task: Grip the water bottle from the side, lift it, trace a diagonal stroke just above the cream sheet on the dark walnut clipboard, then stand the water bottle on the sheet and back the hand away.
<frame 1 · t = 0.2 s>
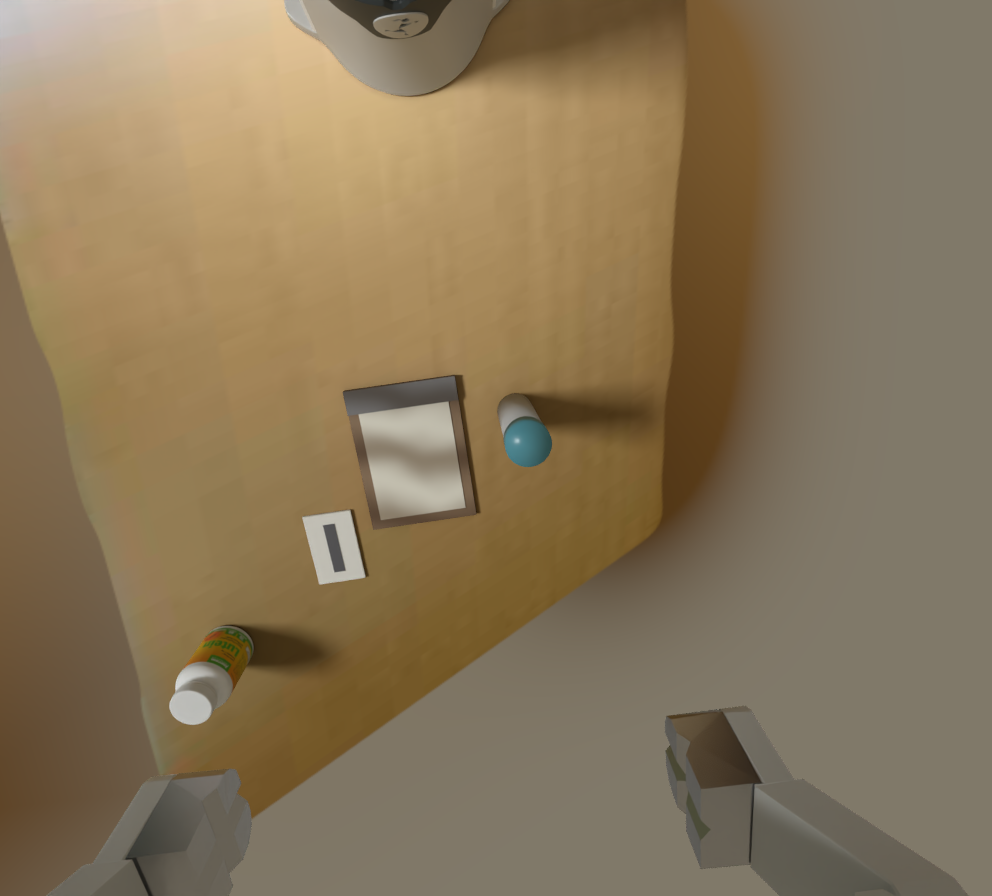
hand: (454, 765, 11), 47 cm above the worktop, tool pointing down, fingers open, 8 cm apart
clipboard: (412, 454, 58), on the worktop
word card: (335, 546, 61), on the worktop
water bottle: (515, 410, 58), on the worktop
supplement bottle: (230, 643, 64), on the worktop
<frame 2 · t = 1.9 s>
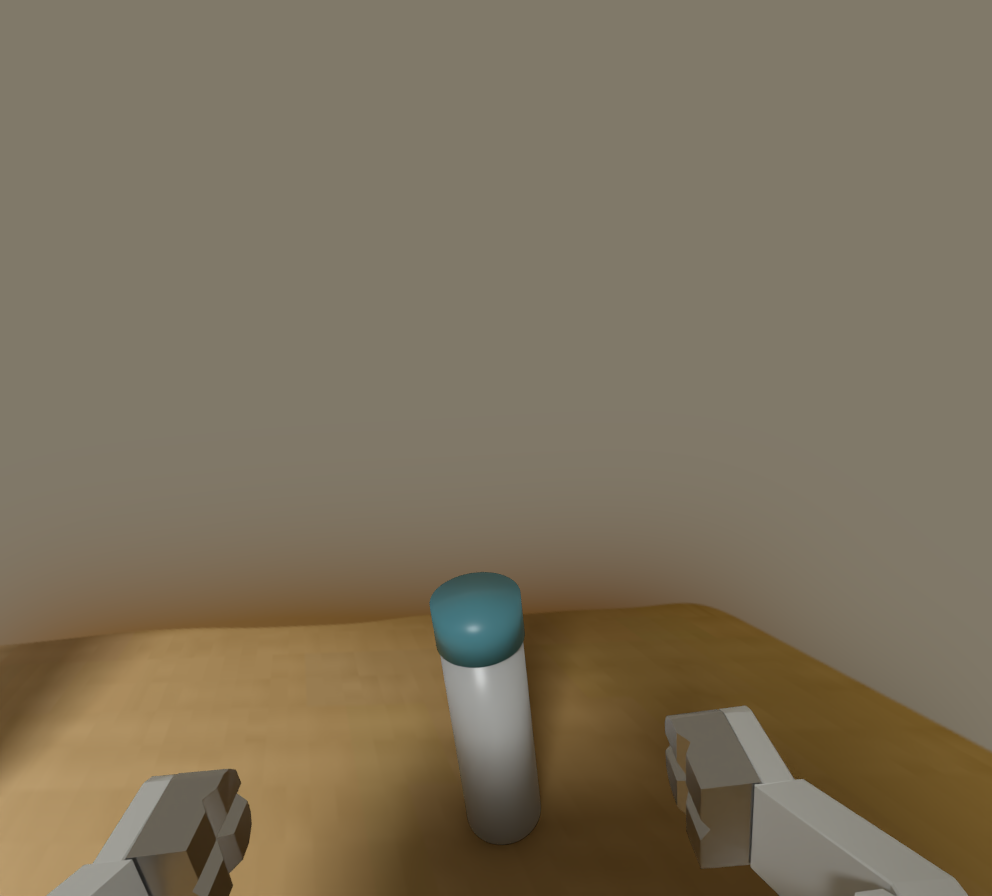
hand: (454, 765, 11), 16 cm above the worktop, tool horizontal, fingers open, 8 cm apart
water bottle: (503, 808, 28), on the worktop
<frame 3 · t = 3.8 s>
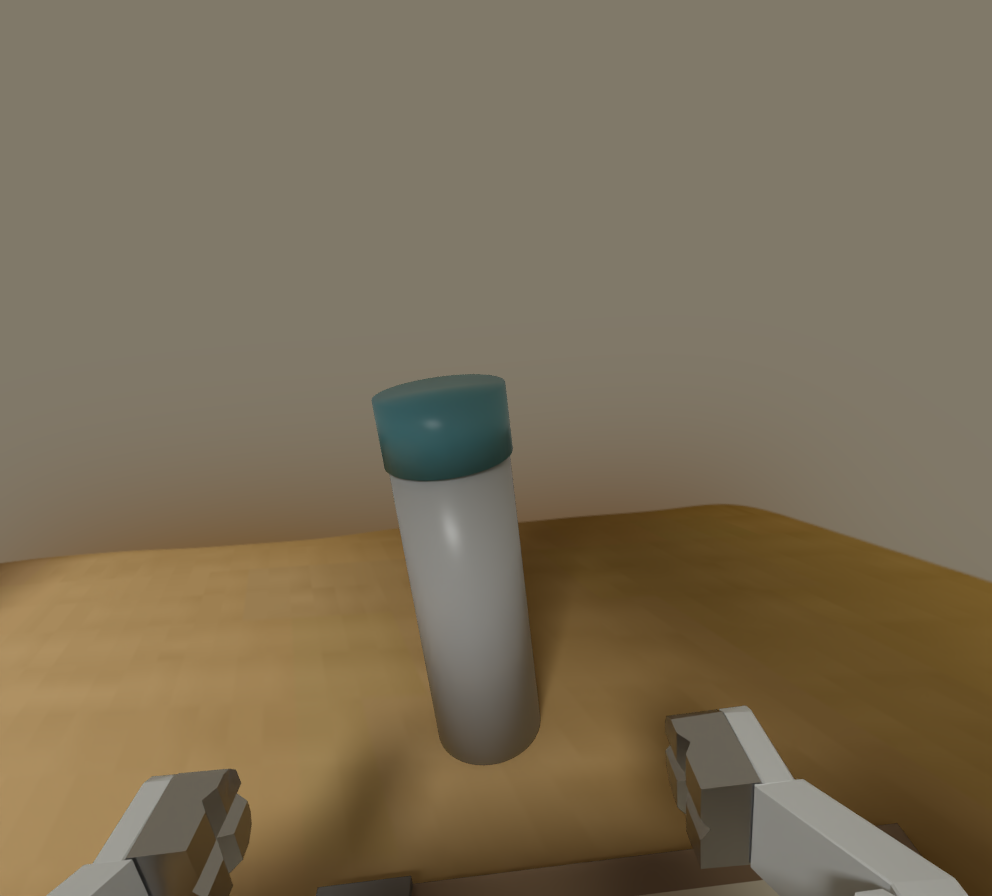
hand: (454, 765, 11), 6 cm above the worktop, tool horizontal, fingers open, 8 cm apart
water bottle: (489, 721, 20), on the worktop
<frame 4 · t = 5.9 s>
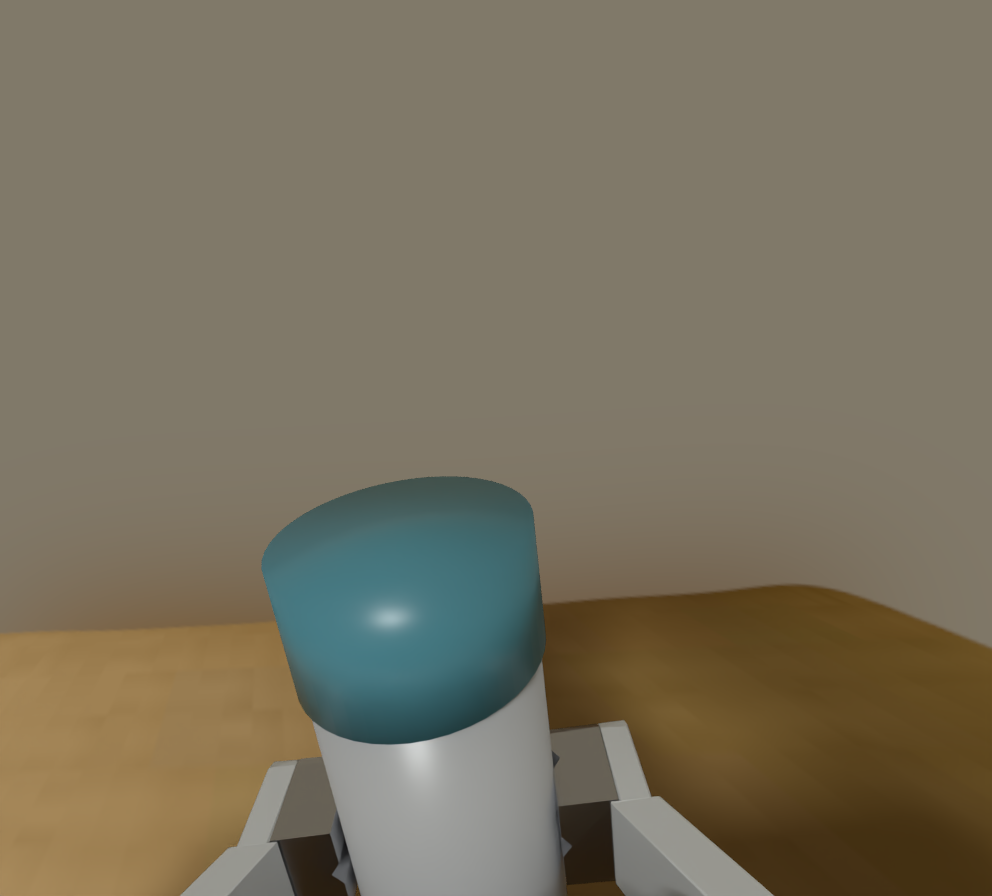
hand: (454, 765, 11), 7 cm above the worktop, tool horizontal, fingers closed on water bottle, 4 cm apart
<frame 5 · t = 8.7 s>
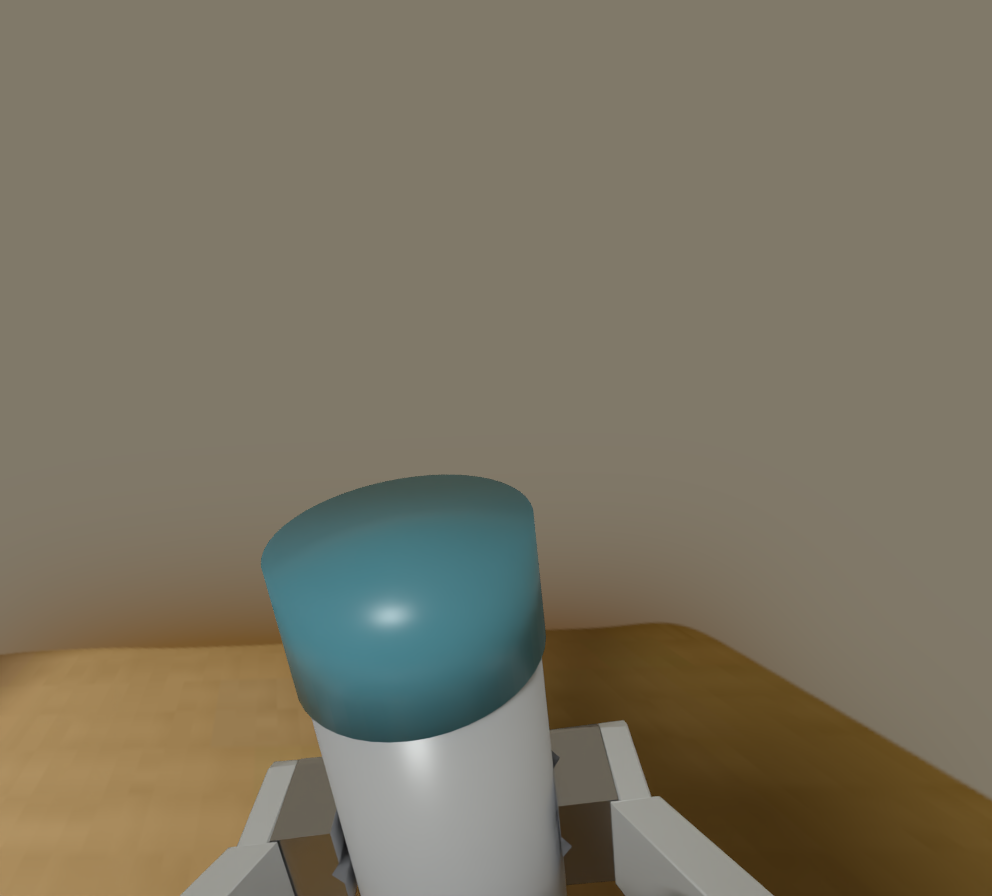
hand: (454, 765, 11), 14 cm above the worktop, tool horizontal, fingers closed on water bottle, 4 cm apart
when the fingers open (8 cm above the worktop, at t = 11.4 s): water bottle stays where it is, resting on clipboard.
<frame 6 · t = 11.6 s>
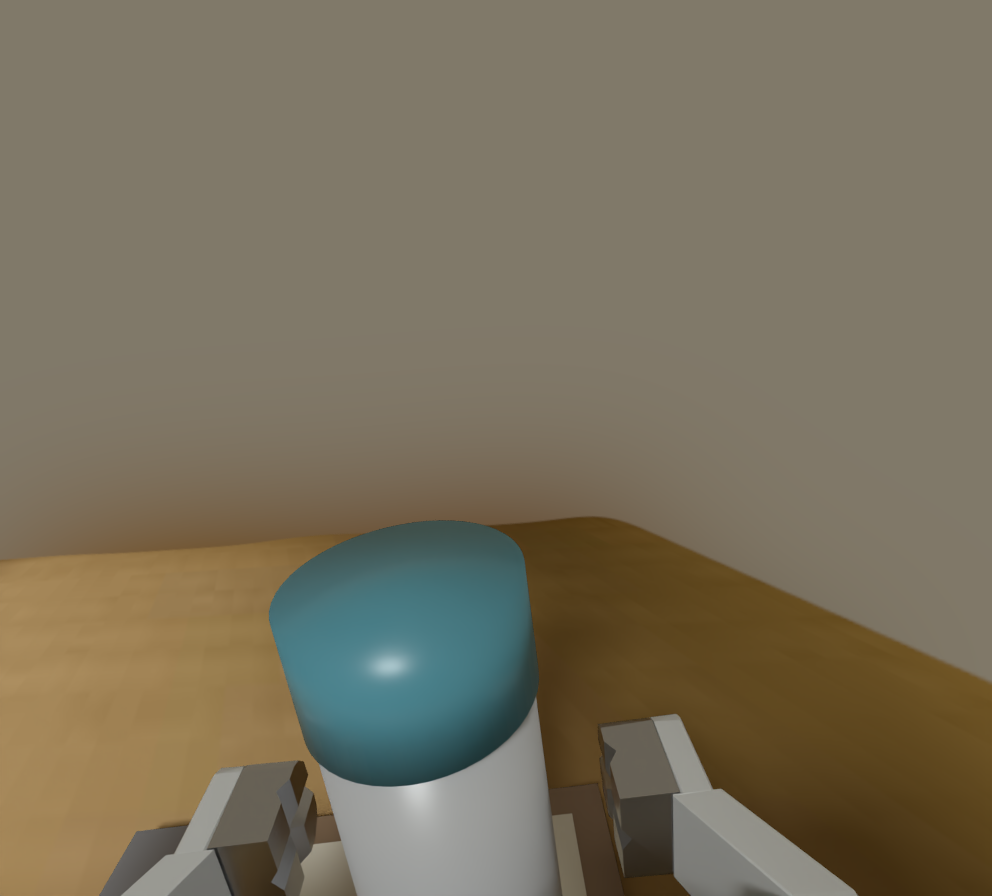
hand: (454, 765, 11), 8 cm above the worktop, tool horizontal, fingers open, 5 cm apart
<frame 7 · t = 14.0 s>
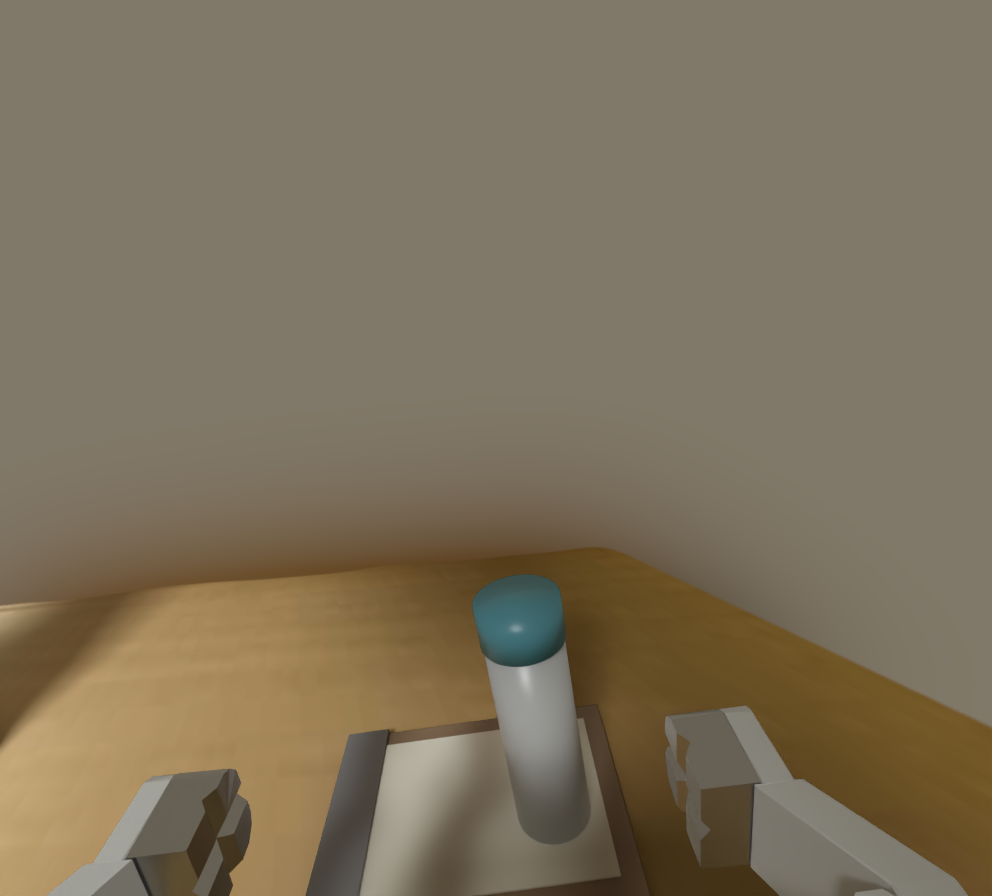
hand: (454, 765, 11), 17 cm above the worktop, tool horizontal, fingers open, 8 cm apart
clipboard: (474, 809, 29), on the worktop
water bottle: (553, 808, 28), point 1 cm above the worktop, touching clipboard
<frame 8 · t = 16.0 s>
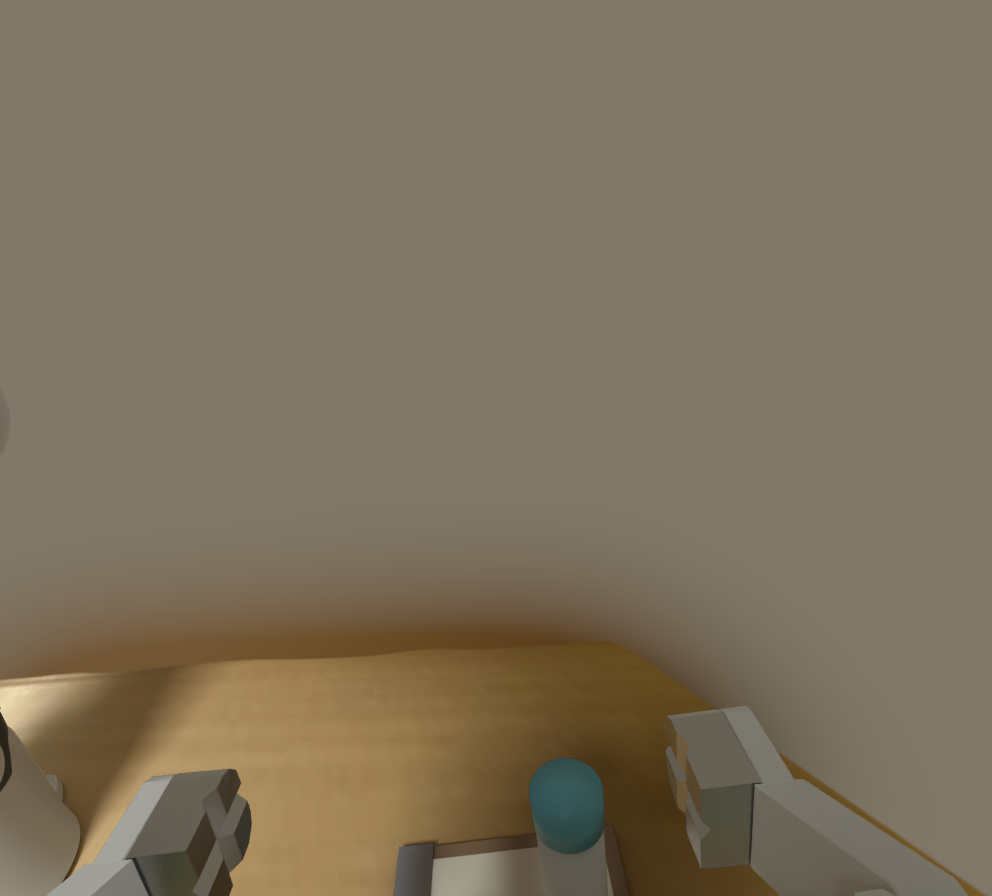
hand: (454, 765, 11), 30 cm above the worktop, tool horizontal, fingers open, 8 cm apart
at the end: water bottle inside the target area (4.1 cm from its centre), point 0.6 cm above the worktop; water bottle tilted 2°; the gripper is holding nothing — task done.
